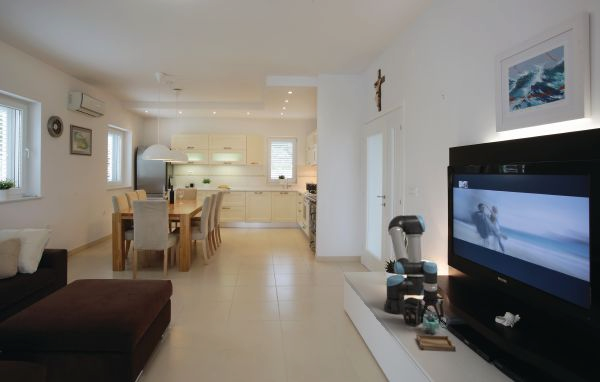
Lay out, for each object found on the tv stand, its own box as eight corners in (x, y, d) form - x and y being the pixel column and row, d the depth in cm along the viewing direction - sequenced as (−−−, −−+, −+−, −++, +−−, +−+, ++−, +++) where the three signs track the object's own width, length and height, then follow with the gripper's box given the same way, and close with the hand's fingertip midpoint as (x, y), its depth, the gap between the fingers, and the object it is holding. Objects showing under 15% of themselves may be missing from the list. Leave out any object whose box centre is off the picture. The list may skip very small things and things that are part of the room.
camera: (408, 318, 227) (408, 295, 227) (423, 323, 220) (423, 299, 219) (400, 323, 220) (399, 299, 220) (415, 328, 213) (415, 303, 212)
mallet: (424, 330, 209) (424, 310, 209) (434, 331, 208) (434, 310, 208) (426, 334, 204) (426, 313, 204) (436, 334, 203) (436, 314, 203)
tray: (416, 338, 199) (416, 334, 199) (448, 339, 197) (448, 336, 197) (421, 349, 186) (421, 345, 186) (455, 351, 184) (455, 347, 184)
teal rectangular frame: (422, 320, 212) (422, 315, 212) (434, 320, 211) (434, 315, 211) (427, 329, 199) (427, 324, 199) (440, 330, 198) (440, 324, 198)
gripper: (413, 291, 203) (414, 330, 204) (450, 292, 200) (450, 331, 201) (411, 287, 210) (411, 325, 211) (446, 287, 208) (446, 326, 209)
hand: (430, 328), depth 206 cm, fingers closed on teal rectangular frame, 7 cm apart
